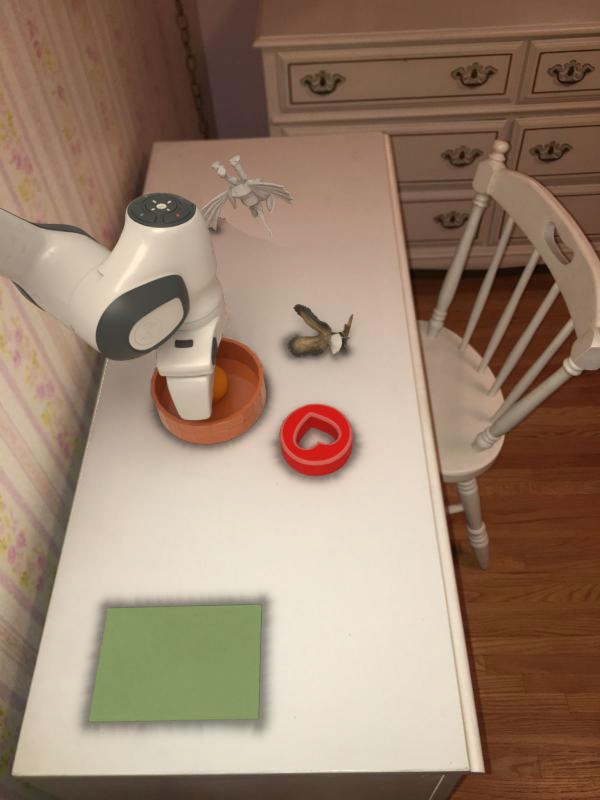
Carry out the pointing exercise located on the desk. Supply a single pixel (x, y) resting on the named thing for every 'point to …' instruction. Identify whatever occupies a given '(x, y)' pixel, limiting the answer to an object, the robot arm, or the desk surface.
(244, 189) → the grey winged dragon figurine
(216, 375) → the orange
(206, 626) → the felt mat
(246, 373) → the pot
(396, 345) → the desk surface
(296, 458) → the decorative ornament
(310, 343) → the eagle figurine
